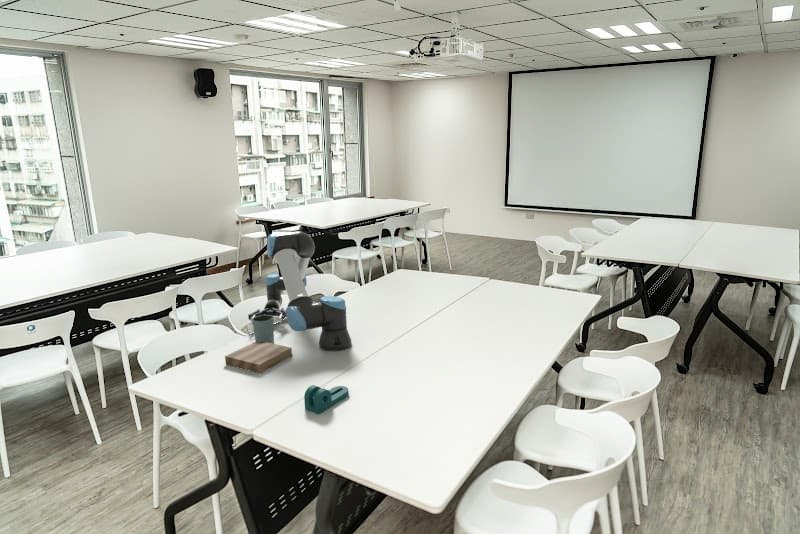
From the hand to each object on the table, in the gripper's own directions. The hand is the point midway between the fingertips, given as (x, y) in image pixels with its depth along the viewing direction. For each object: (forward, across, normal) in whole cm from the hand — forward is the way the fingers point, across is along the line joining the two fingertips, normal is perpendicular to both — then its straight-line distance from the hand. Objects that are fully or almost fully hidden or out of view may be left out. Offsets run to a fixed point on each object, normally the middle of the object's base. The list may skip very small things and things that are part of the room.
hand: (266, 321), depth 251 cm
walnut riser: (+32, -1, -7) cm, 33 cm away
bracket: (+74, -33, -7) cm, 81 cm away
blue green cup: (+9, 0, -7) cm, 12 cm away
